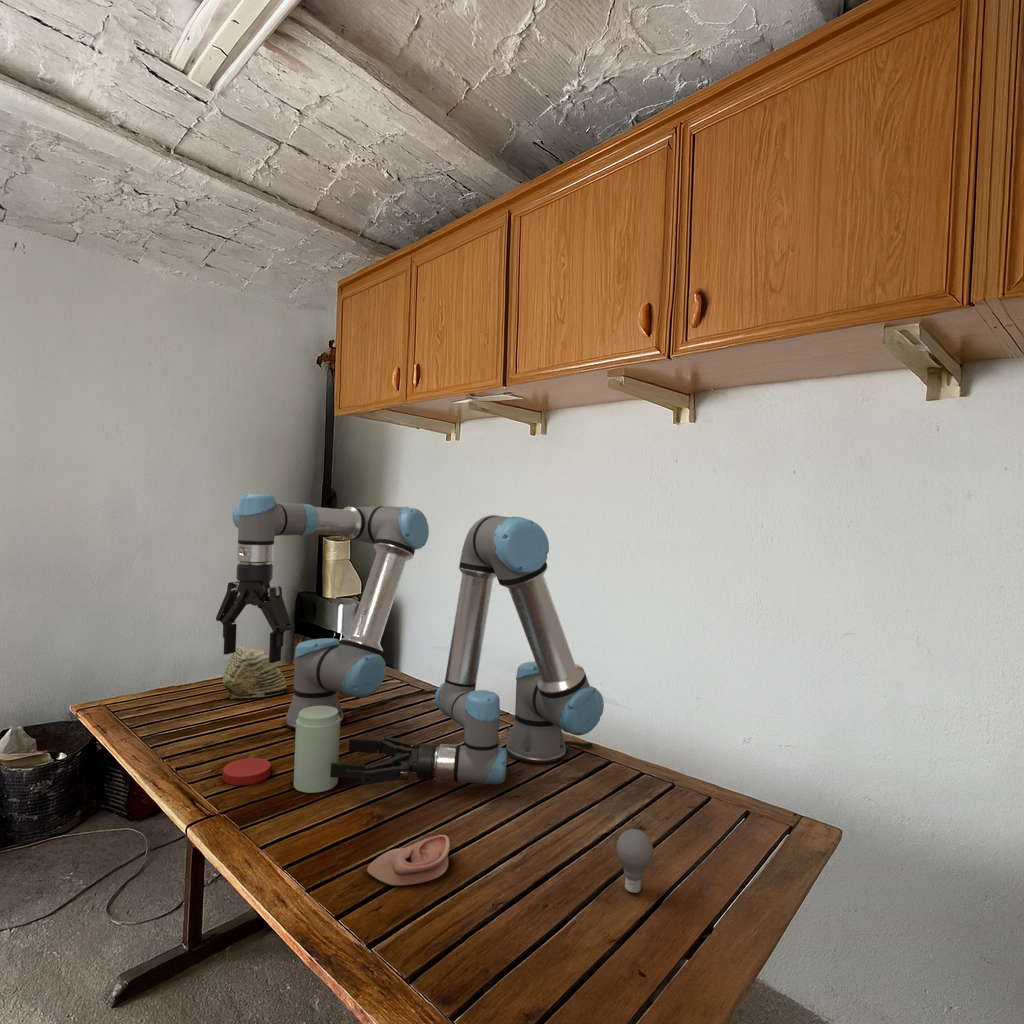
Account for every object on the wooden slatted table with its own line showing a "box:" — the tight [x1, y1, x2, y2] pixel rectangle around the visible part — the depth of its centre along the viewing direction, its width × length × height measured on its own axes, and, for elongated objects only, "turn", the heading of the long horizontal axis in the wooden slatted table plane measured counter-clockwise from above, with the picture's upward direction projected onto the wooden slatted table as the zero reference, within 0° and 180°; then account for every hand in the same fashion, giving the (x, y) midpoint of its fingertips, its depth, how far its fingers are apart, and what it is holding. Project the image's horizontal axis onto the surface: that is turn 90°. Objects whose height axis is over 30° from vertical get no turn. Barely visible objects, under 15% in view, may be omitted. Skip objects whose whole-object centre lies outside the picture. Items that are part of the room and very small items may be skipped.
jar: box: [293, 706, 341, 794], centre depth 140 cm, size 9×9×16 cm
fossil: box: [222, 646, 288, 699], centre depth 198 cm, size 9×18×15 cm, turn 132°
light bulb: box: [615, 828, 654, 894], centre depth 106 cm, size 6×6×10 cm
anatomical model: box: [366, 834, 451, 886], centre depth 109 cm, size 13×4×12 cm
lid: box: [221, 757, 272, 786], centre depth 142 cm, size 10×10×2 cm
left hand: (251, 657), depth 142 cm, fingers open, 13 cm apart
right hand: (340, 756), depth 140 cm, fingers open, 13 cm apart
